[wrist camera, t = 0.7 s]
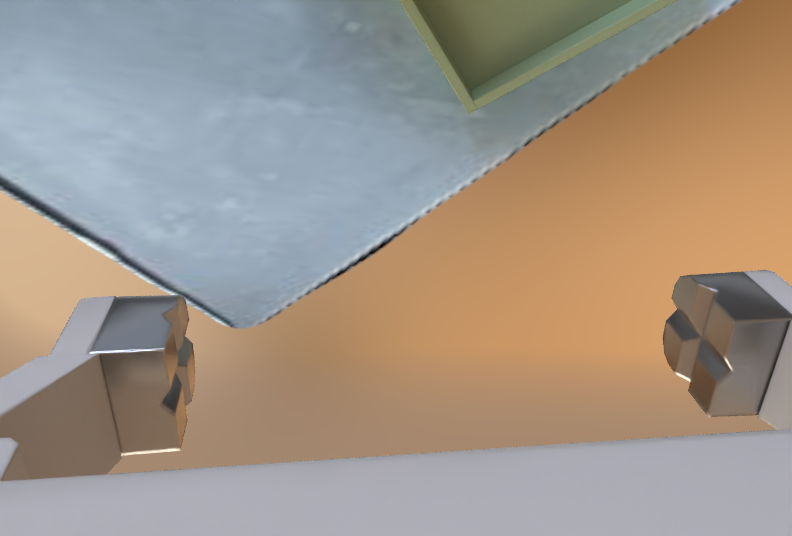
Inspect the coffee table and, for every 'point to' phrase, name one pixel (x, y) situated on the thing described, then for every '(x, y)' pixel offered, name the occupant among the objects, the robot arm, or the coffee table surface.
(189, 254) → the coffee table surface
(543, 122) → the coffee table surface
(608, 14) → the tray
